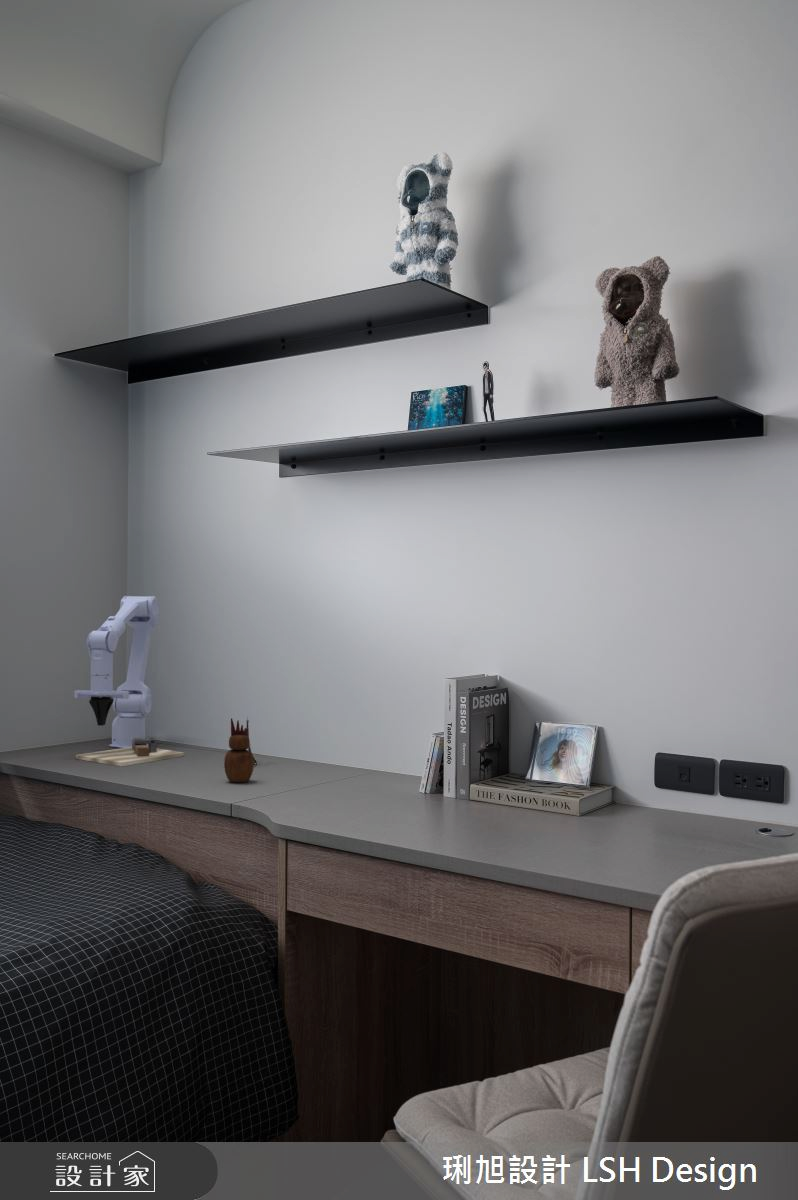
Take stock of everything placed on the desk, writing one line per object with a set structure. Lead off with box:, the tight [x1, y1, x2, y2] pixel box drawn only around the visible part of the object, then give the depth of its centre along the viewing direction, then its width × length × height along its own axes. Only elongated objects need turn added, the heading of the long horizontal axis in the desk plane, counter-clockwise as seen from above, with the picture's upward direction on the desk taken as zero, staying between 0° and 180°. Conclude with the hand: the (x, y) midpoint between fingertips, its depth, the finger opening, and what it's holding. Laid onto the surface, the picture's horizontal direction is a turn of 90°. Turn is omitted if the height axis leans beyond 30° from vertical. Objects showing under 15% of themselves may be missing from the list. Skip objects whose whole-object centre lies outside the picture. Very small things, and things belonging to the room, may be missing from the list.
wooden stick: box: [132, 737, 149, 756], centre depth 264 cm, size 16×3×3 cm, turn 21°
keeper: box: [132, 737, 158, 753], centre depth 264 cm, size 4×6×3 cm, turn 114°
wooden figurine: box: [223, 718, 255, 783], centre depth 228 cm, size 7×6×15 cm
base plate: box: [75, 747, 185, 767], centre depth 261 cm, size 19×21×1 cm
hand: (101, 725), depth 260 cm, fingers closed
